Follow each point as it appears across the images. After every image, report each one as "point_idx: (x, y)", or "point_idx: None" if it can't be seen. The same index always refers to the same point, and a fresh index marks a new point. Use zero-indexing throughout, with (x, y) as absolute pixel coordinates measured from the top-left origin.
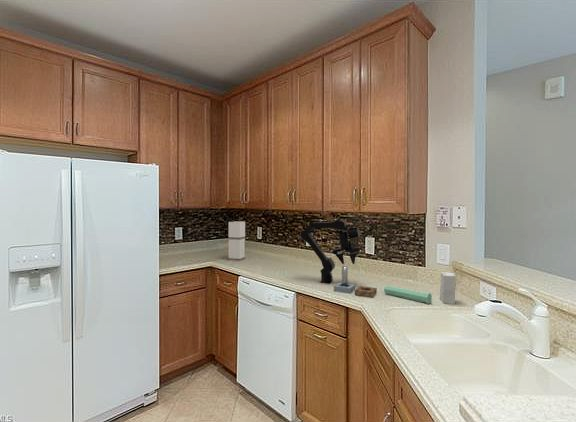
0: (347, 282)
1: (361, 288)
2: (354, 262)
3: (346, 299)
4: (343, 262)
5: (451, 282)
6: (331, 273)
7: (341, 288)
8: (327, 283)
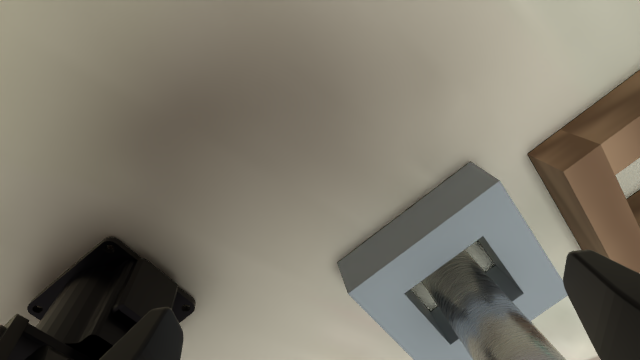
0: (508, 297)
1: (622, 197)
2: (625, 274)
3: None
4: (161, 348)
5: None
6: (111, 340)
7: None
8: (182, 316)
